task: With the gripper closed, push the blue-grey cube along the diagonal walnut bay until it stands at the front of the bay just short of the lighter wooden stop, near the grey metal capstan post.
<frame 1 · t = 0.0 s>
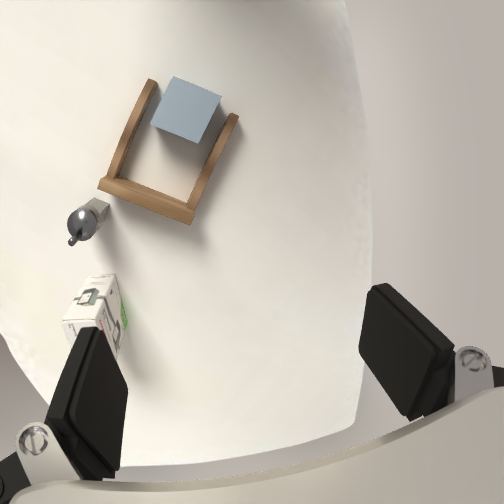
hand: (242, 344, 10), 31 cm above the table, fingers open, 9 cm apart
ink box: (107, 299, 42), on the table
bay: (169, 147, 36), on the table
winch post: (99, 209, 37), on the table
blue-grey cube: (186, 112, 34), on the table
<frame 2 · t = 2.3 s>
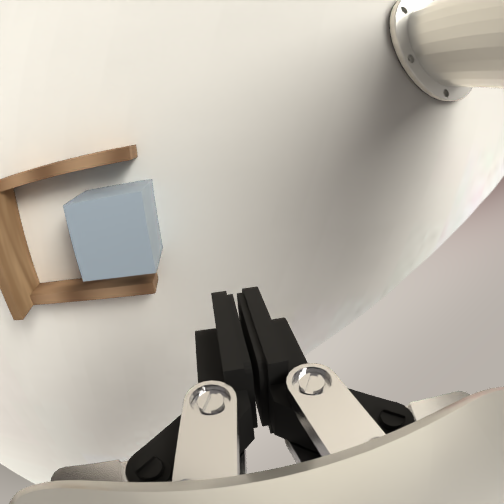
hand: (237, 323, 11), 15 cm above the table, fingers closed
bay: (73, 227, 23), on the table
blue-grey cube: (123, 218, 24), on the table
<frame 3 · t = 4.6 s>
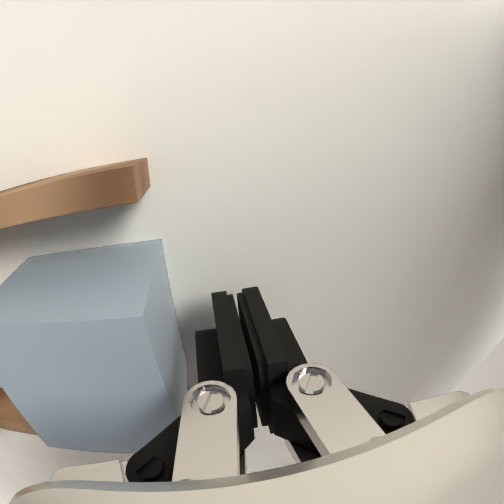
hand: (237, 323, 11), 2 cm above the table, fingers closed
bay: (32, 320, 11), on the table
blue-grey cube: (107, 313, 12), on the table
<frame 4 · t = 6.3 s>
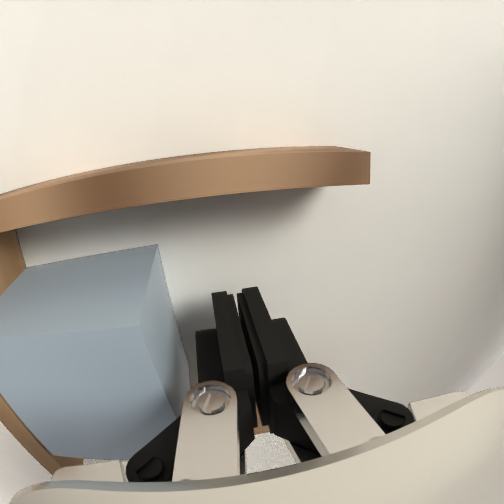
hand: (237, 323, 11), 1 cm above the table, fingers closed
bay: (166, 312, 12), on the table
blue-grey cube: (106, 321, 11), on the table, touching bay, gripper
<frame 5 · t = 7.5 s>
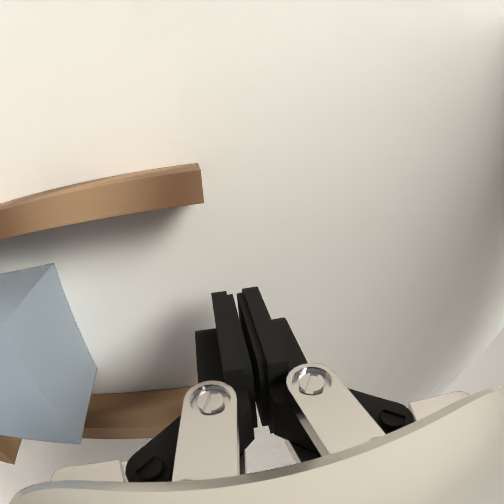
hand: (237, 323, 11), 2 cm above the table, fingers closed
bay: (69, 321, 12), on the table
blue-grey cube: (29, 325, 12), on the table
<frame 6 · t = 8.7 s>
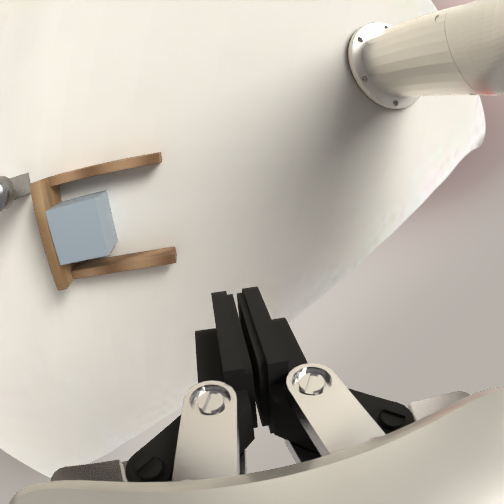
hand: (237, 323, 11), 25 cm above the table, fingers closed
bay: (109, 215, 32), on the table
winch post: (22, 184, 27), on the table
blue-grey cube: (89, 220, 31), on the table
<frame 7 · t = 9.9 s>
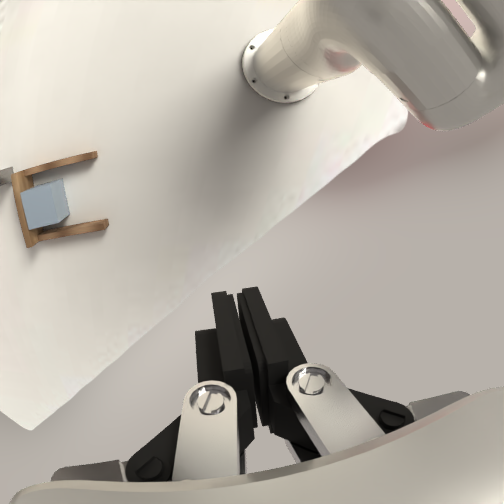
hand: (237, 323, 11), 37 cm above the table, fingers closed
bay: (64, 196, 41), on the table
winch post: (8, 174, 37), on the table
blue-grey cube: (51, 199, 41), on the table
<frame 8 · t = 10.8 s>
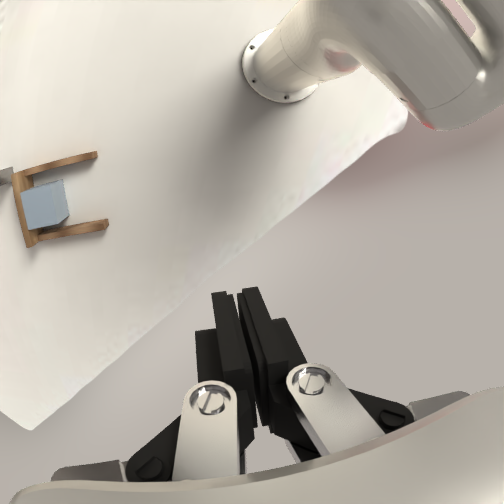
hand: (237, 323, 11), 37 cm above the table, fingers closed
bay: (64, 196, 41), on the table
winch post: (8, 174, 37), on the table
blue-grey cube: (51, 200, 41), on the table
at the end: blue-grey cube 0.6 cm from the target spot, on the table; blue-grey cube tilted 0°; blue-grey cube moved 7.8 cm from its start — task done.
